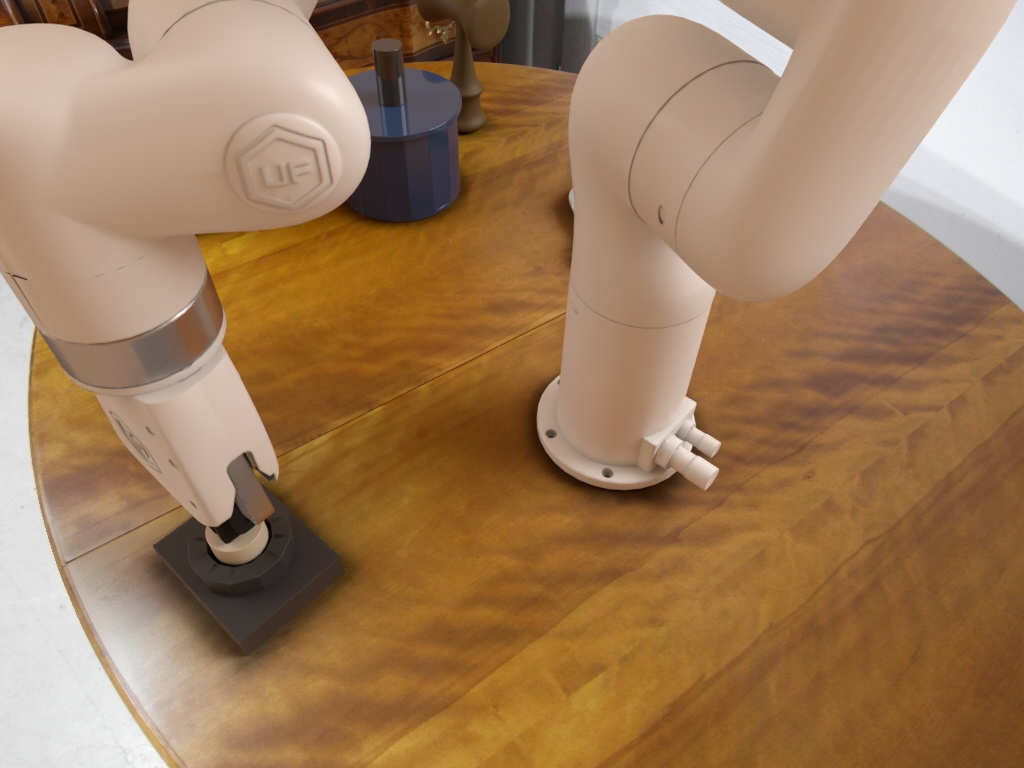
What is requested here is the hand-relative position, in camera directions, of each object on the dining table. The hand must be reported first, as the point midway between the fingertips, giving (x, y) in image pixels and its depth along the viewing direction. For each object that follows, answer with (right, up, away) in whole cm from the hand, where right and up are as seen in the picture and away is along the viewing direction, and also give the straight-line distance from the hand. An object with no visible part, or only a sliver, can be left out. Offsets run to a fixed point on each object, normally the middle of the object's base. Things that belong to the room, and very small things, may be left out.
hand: (239, 521), depth 50 cm
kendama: (+12, +40, +43) cm, 60 cm away
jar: (+6, +30, +34) cm, 46 cm away
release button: (0, -1, +1) cm, 2 cm away
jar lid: (+6, +37, +27) cm, 46 cm away
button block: (0, -4, +4) cm, 6 cm away
